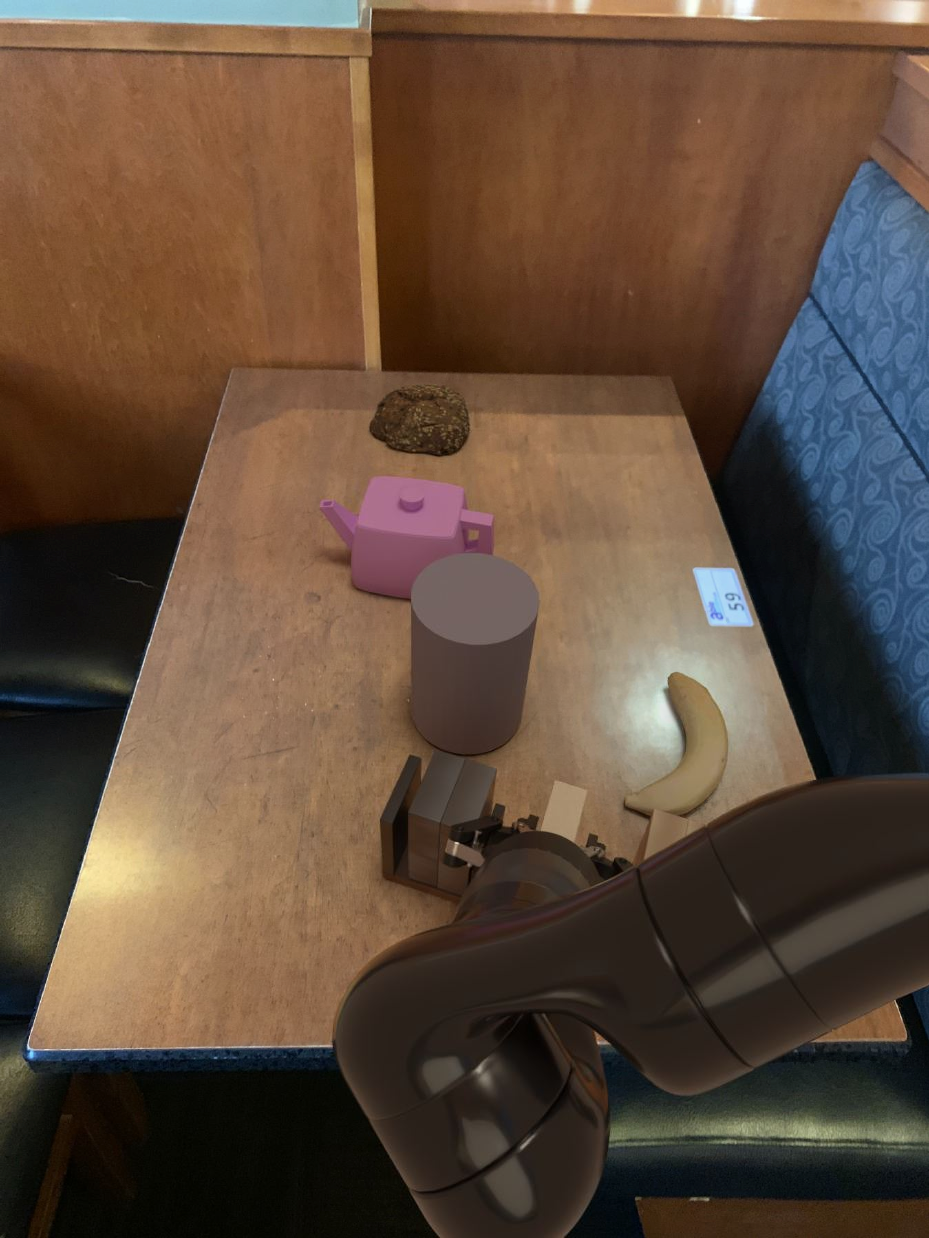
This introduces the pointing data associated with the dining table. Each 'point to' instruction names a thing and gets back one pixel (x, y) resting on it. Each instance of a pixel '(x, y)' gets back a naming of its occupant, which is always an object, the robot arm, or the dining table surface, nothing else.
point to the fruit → (689, 753)
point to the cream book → (564, 810)
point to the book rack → (455, 797)
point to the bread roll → (422, 419)
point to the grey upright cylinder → (471, 650)
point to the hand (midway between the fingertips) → (560, 837)
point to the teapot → (406, 531)
